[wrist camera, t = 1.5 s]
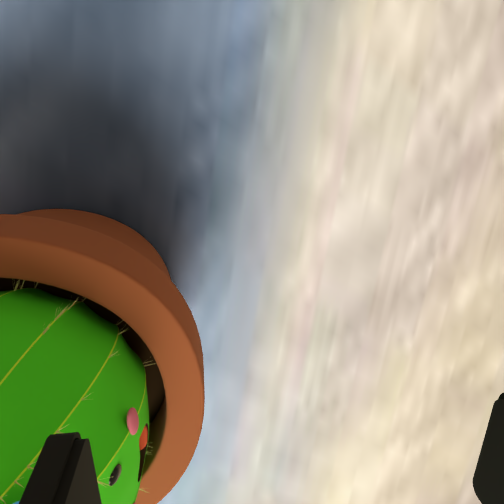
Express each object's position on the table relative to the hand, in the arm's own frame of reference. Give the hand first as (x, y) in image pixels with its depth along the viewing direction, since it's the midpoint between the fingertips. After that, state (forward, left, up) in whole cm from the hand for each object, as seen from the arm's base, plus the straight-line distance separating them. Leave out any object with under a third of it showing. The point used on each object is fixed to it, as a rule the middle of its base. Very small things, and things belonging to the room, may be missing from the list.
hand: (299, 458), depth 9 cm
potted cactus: (+16, +3, -27) cm, 31 cm away
